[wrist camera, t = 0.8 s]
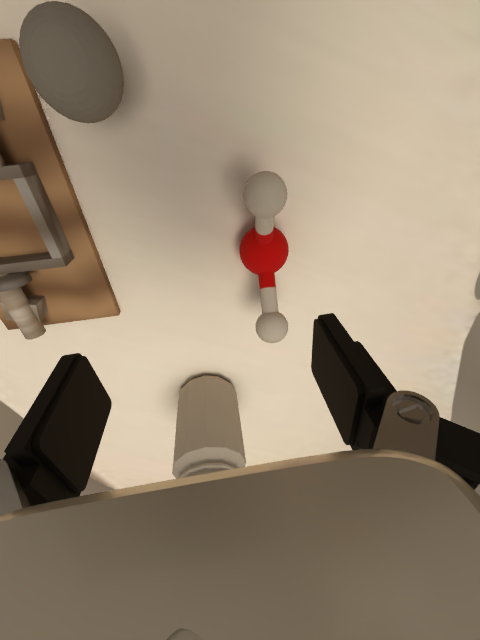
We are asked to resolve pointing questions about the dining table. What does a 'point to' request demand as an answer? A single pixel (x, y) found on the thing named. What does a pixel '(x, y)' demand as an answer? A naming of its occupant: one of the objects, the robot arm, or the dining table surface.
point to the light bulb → (71, 62)
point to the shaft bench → (41, 219)
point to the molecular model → (266, 249)
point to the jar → (207, 428)
